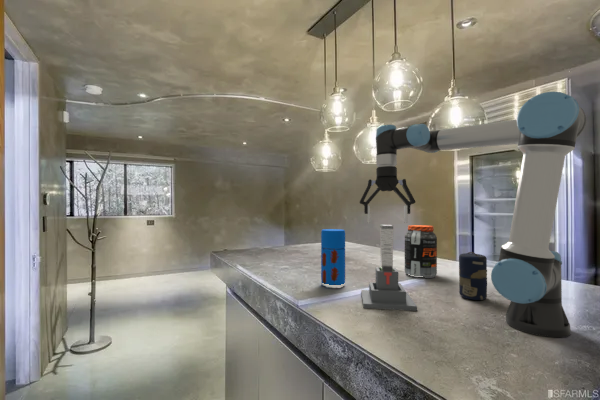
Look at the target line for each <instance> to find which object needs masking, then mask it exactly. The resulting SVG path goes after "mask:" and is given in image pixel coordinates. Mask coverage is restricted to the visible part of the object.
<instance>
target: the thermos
mask: <svg viewBox="0 0 600 400" xmlns="http://www.w3.org/2000/svg"><path fill="white" fill-rule="evenodd" d="M320 235H321V236H320V239H321V240H320V245H321V246H320V247H321V248H320V250H321V251H320V253H321V254H320V256H321V257H320V258H321V259H320V260H321V261H320V263H321V264H320V266H321V267H320V269H321V271H320V274H321V275H320V277H321V279H320V280H321V284H322V283H324V284H329V285H341V284H344V283H345V284H346V230H345V229H340V228H339V229H338V228H337V229H336V228H334V229H333V228H328V229H327V228H326V229H321V233H320Z"/></svg>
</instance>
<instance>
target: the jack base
mask: <svg viewBox="0 0 600 400" xmlns="http://www.w3.org/2000/svg"><path fill="white" fill-rule="evenodd" d="M380 267H381V266H379V267H378V266H376V267H375V281H374V282H372V281H369V283H368V288H369V289H361V290H360V294H361V301H362V305H363V309H378V310H392V311H393V310H394V311H395V310H396V311H411V312H412V311H417V312H418V306H417V304H416V303H415V301H414V299H412V297H411V295H410V294H409V293H408V292H407V290H406V289H405V288H404V286H403V285H402V283H399V271H398V269H397V268H396V267H393V271H392V267H383V271H381V270H380Z"/></svg>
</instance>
